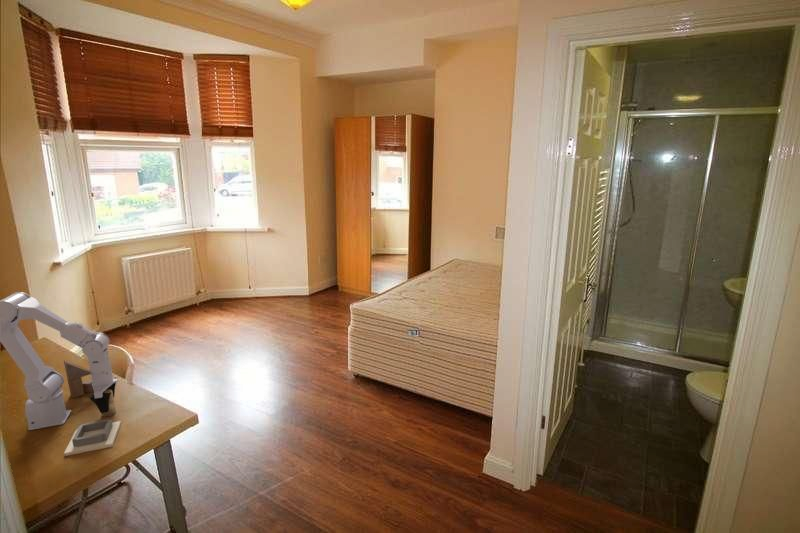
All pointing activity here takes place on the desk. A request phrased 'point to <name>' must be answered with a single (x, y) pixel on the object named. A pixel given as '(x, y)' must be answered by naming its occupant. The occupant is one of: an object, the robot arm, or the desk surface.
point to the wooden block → (77, 379)
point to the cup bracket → (93, 436)
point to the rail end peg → (110, 405)
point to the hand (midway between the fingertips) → (107, 405)
